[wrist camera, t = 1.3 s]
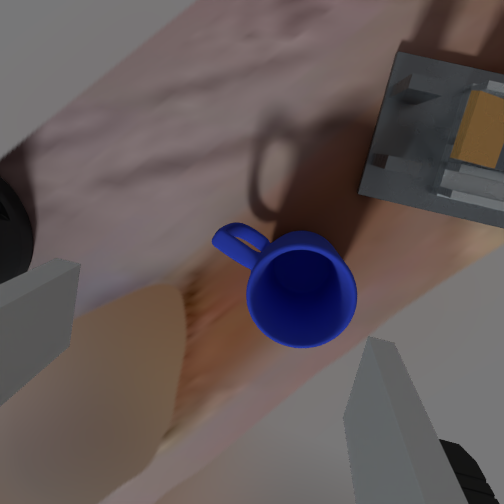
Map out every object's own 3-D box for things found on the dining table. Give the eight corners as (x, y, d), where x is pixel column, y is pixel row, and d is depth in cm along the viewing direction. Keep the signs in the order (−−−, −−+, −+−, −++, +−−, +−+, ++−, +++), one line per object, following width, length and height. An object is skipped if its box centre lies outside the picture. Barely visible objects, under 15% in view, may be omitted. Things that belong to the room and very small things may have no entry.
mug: (255, 180, 43) (241, 191, 33) (363, 253, 43) (380, 285, 34) (208, 251, 45) (182, 281, 35) (311, 320, 45) (314, 369, 36)
